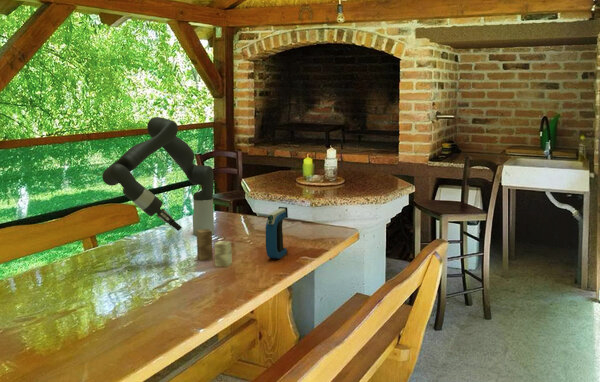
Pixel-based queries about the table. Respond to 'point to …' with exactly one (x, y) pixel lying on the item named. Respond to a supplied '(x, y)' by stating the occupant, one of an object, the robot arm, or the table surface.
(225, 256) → the beech block
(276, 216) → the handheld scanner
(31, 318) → the table surface
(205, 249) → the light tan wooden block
